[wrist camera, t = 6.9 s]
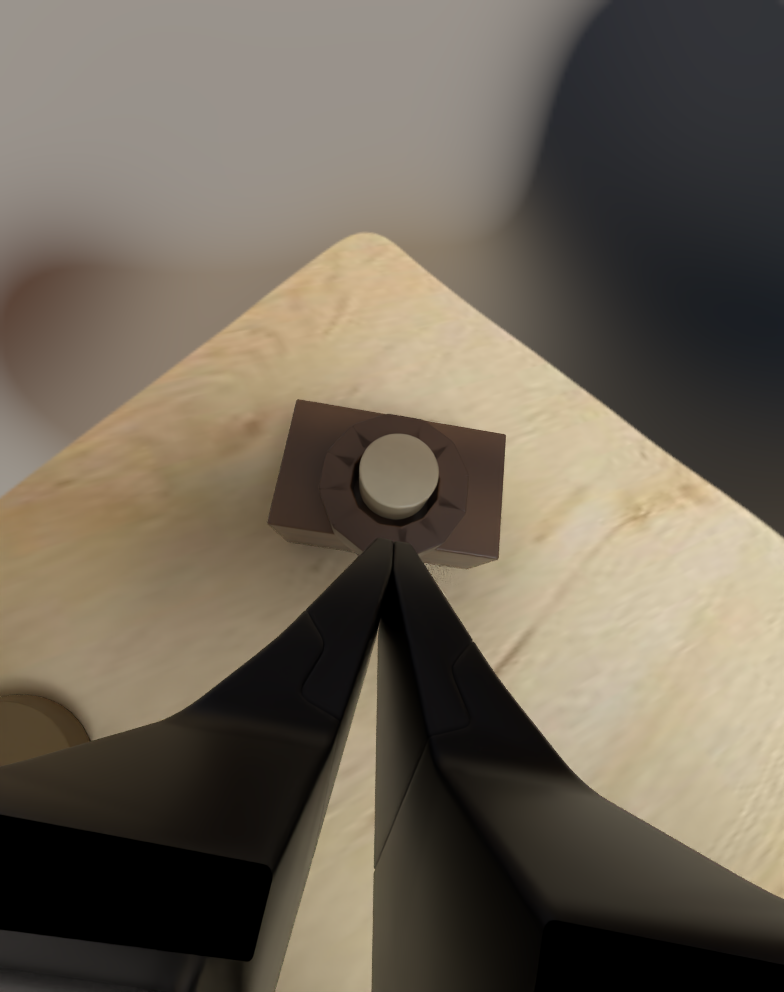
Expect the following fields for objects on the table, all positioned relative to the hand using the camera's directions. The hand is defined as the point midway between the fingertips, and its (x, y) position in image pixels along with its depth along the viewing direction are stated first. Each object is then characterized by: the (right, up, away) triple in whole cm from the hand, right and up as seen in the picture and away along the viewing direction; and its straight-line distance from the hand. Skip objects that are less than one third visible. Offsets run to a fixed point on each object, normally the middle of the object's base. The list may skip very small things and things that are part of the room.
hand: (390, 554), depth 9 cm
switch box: (0, +1, +12) cm, 12 cm away
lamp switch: (0, +2, +6) cm, 6 cm away
